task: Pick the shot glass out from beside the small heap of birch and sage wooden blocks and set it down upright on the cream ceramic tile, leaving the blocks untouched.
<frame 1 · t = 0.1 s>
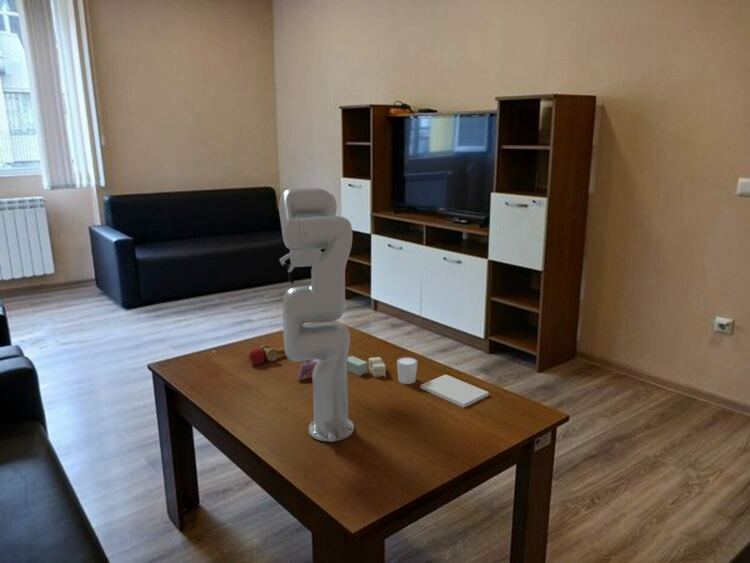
hand: (306, 281, 198), 31 cm above the table, tool pointing down, fingers open, 9 cm apart
sage block: (355, 371, 204), on the table
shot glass: (406, 381, 196), on the table
birch block: (377, 372, 202), on the table
game console: (321, 362, 213), on the table
kendama: (272, 359, 214), on the table
video game controller: (313, 379, 197), on the table
ceramic tile: (454, 391, 187), on the table
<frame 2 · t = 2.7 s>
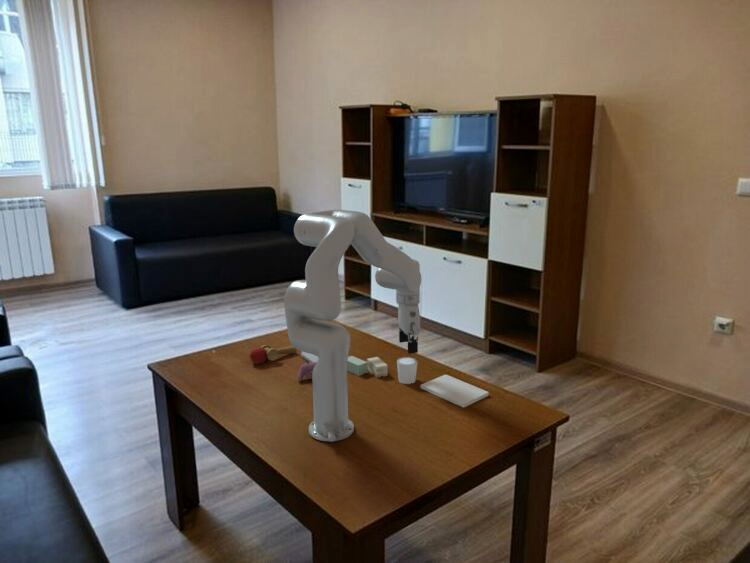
hand: (408, 347, 193), 12 cm above the table, tool pointing down, fingers open, 9 cm apart
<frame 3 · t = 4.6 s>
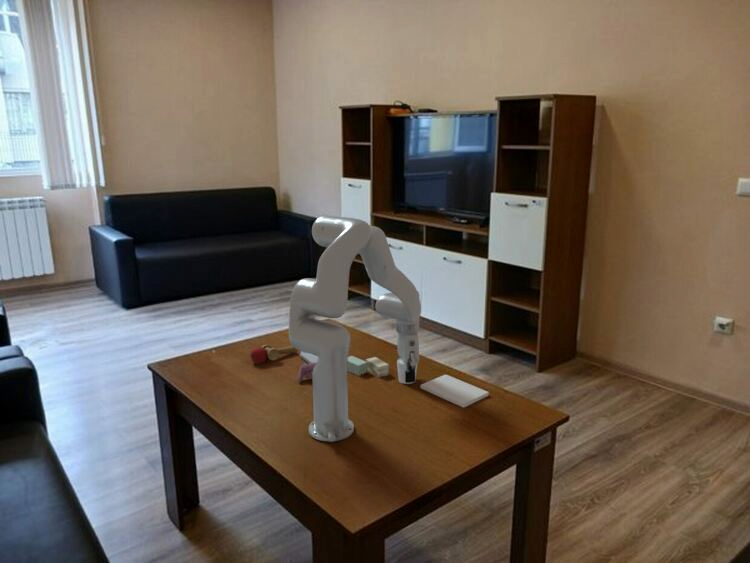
hand: (407, 377, 195), 1 cm above the table, tool pointing down, fingers closed on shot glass, 6 cm apart
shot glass: (406, 380, 196), on the table, touching gripper
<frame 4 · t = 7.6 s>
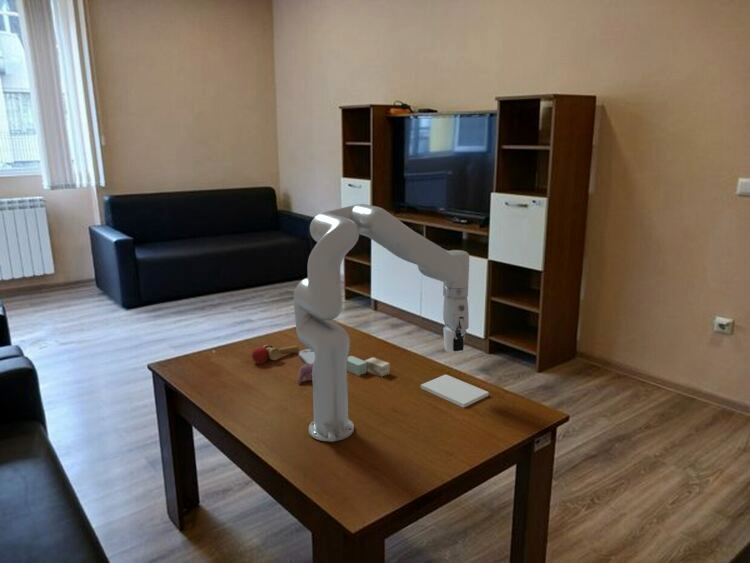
hand: (453, 345, 183), 16 cm above the table, tool pointing down, fingers closed on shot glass, 6 cm apart
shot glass: (453, 349, 184), point 14 cm above the table, touching gripper
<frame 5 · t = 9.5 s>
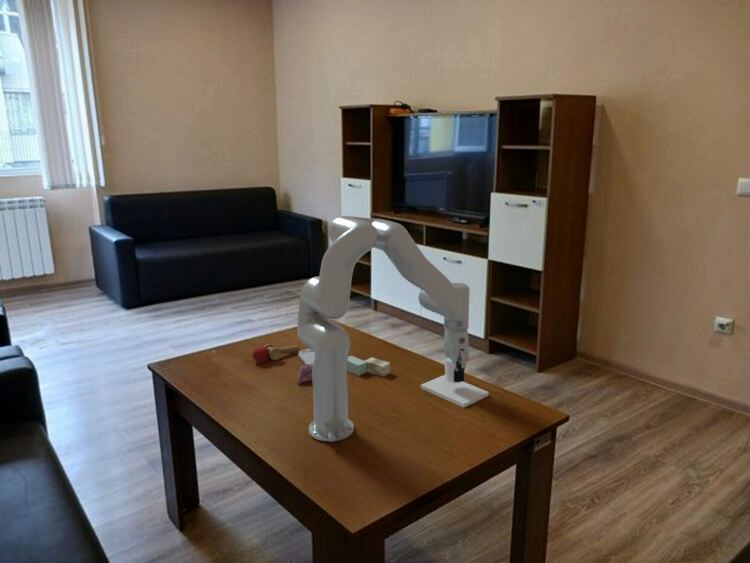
hand: (454, 376, 186), 5 cm above the table, tool pointing down, fingers closed on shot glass, 6 cm apart
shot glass: (454, 380, 186), point 4 cm above the table, touching gripper
when the fingers open (4 cm above the table, at t = 10.8 s): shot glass drops 1 cm, resting on ceramic tile.
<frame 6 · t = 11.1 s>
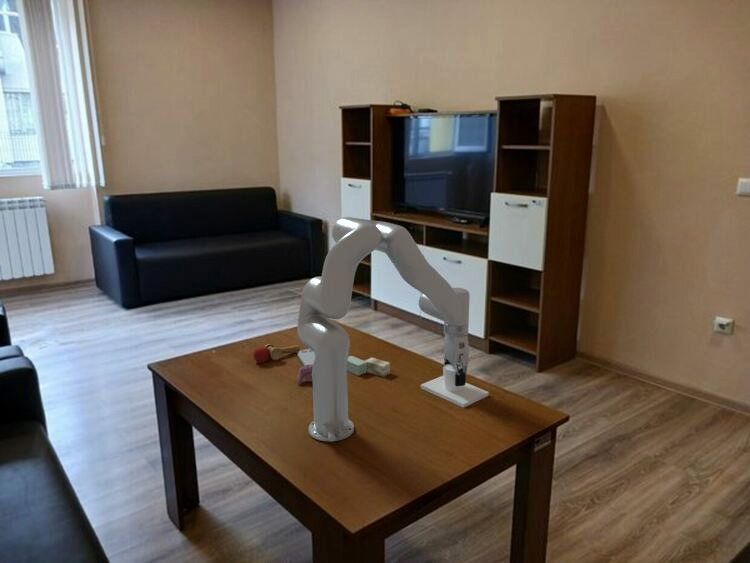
hand: (454, 379, 186), 4 cm above the table, tool pointing down, fingers open, 9 cm apart
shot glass: (453, 388, 187), point 1 cm above the table, touching ceramic tile
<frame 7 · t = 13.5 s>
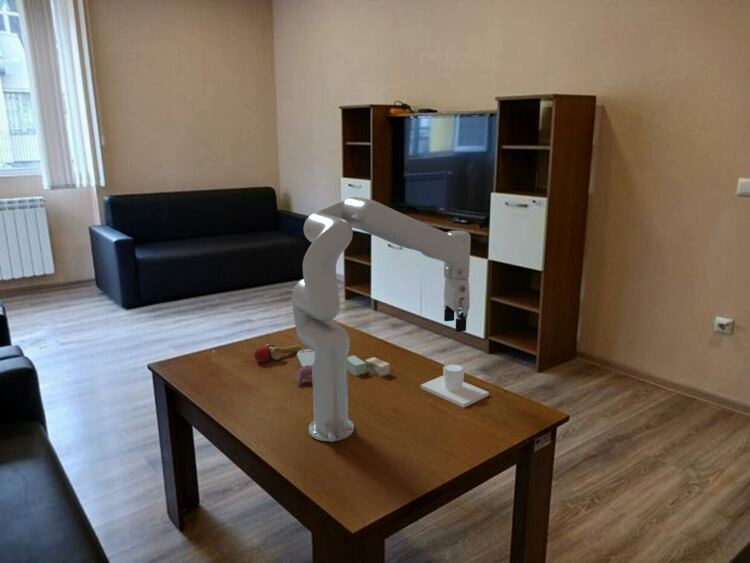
hand: (454, 325, 181), 22 cm above the table, tool pointing down, fingers open, 9 cm apart
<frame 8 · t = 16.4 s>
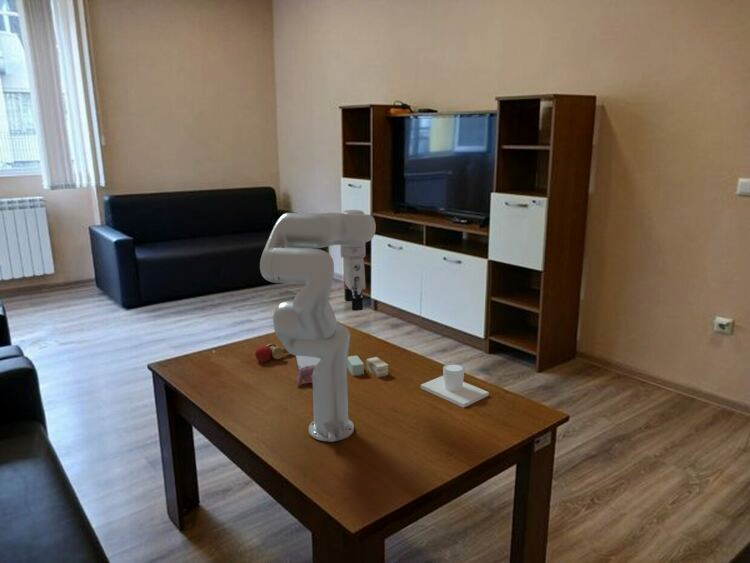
hand: (354, 305, 182), 28 cm above the table, tool pointing down, fingers open, 9 cm apart
at the end: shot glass inside the target area on the ceramic tile (0.4 cm from its centre), point 1.0 cm above the ceramic tile's base; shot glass tilted 0°; birch block moved 0.2 cm from its start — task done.
